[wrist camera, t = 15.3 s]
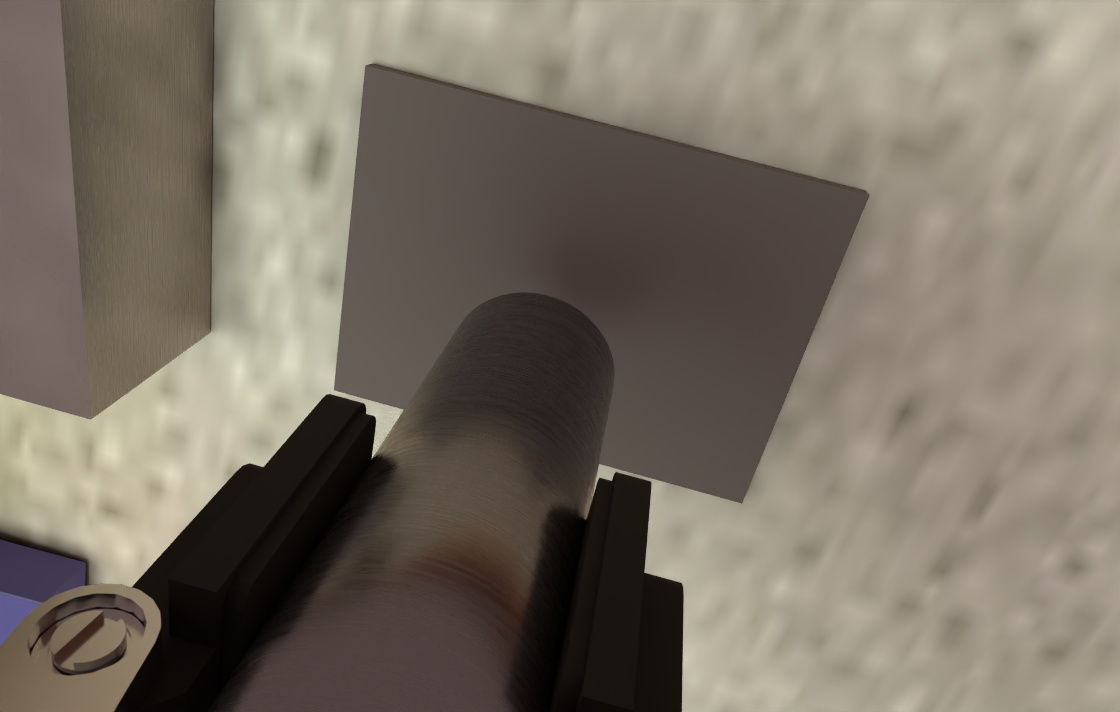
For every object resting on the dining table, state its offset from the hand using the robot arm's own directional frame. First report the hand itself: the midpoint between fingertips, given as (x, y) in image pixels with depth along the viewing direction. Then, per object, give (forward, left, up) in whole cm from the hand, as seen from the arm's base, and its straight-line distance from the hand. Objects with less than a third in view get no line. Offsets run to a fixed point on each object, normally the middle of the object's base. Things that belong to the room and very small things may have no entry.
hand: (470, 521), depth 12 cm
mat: (0, 0, -10) cm, 10 cm away
